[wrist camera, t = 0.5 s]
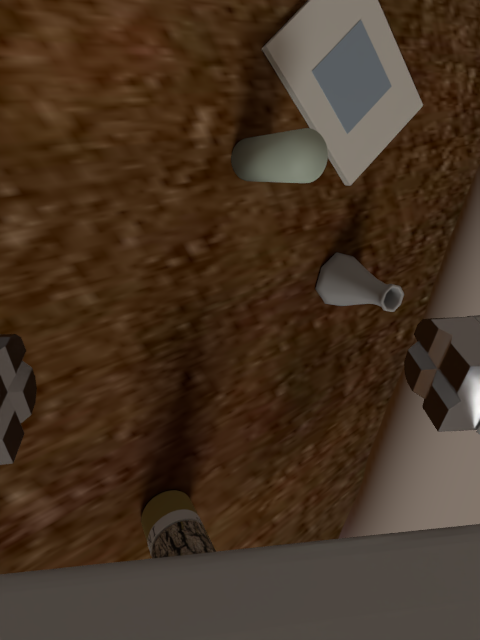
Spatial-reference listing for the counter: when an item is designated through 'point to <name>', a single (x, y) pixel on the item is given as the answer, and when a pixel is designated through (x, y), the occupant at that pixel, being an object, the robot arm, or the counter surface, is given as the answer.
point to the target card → (345, 78)
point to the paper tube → (174, 526)
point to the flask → (355, 285)
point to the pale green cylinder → (281, 157)
